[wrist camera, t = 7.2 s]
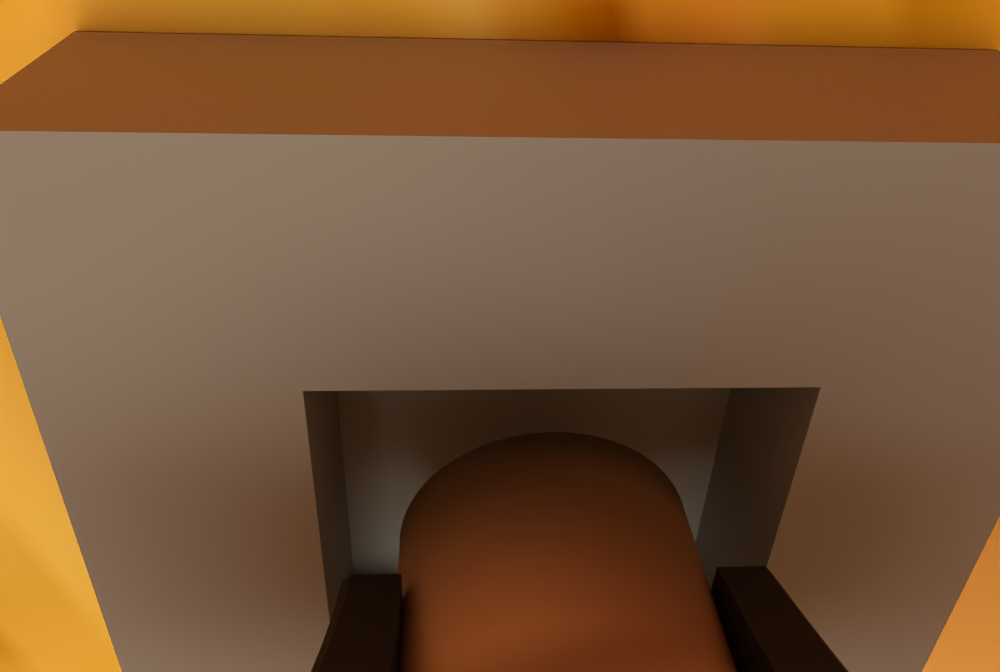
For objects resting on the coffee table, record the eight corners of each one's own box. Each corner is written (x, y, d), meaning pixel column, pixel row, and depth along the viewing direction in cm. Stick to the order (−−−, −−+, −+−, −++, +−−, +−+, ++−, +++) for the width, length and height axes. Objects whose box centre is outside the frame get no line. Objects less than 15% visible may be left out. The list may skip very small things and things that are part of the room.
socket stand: (995, 49, 11) (1185, 145, 9) (794, 625, 18) (862, 791, 15) (74, 31, 11) (-64, 129, 8) (217, 641, 17) (172, 818, 14)
